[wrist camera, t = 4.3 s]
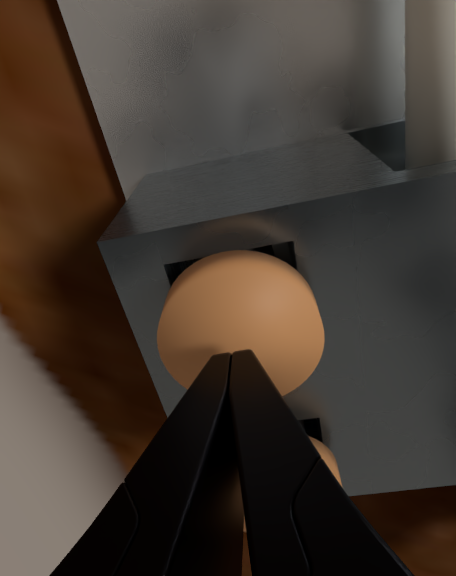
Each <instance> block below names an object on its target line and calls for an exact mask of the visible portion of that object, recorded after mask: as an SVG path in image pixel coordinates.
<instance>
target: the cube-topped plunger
mask: <svg viewBox="0 0 456 576" xmlns="http://www.w3.org/2000/svg"><path fill="white" fill-rule="evenodd" d="M452 160H456V0H405V170H406V169H411V168H416V167H421V166H426V165H432V164H437V163H442V162H447V161H452Z"/></svg>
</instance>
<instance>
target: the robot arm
mask: <svg viewBox="0 0 456 576" xmlns="http://www.w3.org/2000/svg"><path fill="white" fill-rule="evenodd" d="M124 481H125V483H122V484H121V485H120V486H119V487H118V489H117V490H116V491H115V493H114V494H113V496H112V497H111V499H110V500H109V501H108V503H107V504H106V505H105V507H104V508H103V509H102V511H101V512H100V513H99V515H98V516H97V517H96V519H95V520H94V522H93V523H92V524H91V526H90V527H89V528H88V529H87V531H86V532H85V533H84V534H83V536H82V537H81V538H80V539H79V541H78V542H77V543H76V544H75V545H74V547H73V548H72V549H71V551H70V552H69V553H68V554H67V555H66V557H65V558H64V559H63V560H62V561H61V562H60V564H59V565H58V566H57V567H56V568H55V570H54V571H53V572H52V573H51V574H50V576H241V575H242V552H243V530H244V517H245V525H246V533H247V540H248V548H249V556H250V563H251V571H252V576H414V575H413V574H412V572H411V571H410V570H409V569H408V568H407V567H406V565H405V564H404V563H403V562H402V561H401V560H400V558H399V557H398V556H397V555H396V554H395V553H394V551H393V550H392V549H391V548H390V547H389V546H388V544H387V543H386V542H385V541H384V540H383V539H382V537H381V536H380V535H379V534H378V533H377V532H376V530H375V529H374V528H373V527H372V526H371V524H370V523H369V522H368V521H367V519H366V518H365V517H364V516H363V514H362V513H361V512H360V511H359V509H358V508H357V507H356V506H355V504H354V503H353V502H352V501H351V499H350V498H349V496H348V495H347V493H346V492H345V491H344V489H343V488H342V486H341V485H340V484H339V482H338V481H337V479H336V478H335V476H334V475H333V473H332V472H331V470H330V469H329V467H328V466H327V464H326V463H325V461H324V460H323V459H322V458H321V455H320V454H319V452H318V451H317V449H316V448H315V446H314V445H313V443H312V441H311V440H310V438H309V437H308V435H307V434H306V432H305V431H304V429H303V428H302V426H301V425H300V423H299V421H298V420H297V418H296V417H295V415H294V414H293V412H292V411H291V409H290V408H289V406H288V404H287V403H286V401H285V400H284V398H283V397H282V395H281V394H280V392H279V391H278V389H277V388H276V386H275V384H274V383H273V381H272V380H271V378H270V377H269V375H268V374H267V372H266V371H265V369H264V368H263V366H262V364H261V363H260V361H259V360H258V358H257V357H256V355H255V354H254V352H253V351H252V350H251V349H245V350H239V351H234V352H233V353H232V354H231V353H230V352H226V353H220V354H214V355H212V356H211V357H210V359H209V360H208V361H207V363H206V364H205V366H204V367H203V369H202V370H201V371H200V373H199V374H198V376H197V377H196V378H195V380H194V381H193V383H192V384H191V386H190V387H189V388H188V390H187V391H186V393H185V394H184V395H183V397H182V398H181V400H180V401H179V403H178V404H177V405H176V407H175V408H174V410H173V411H172V412H171V414H170V415H169V417H168V418H167V419H166V421H165V422H164V424H163V425H162V427H161V428H160V429H159V431H158V432H157V434H156V435H155V436H154V438H153V439H152V441H151V442H150V444H149V445H148V446H147V448H146V449H145V451H144V452H143V453H142V455H141V456H140V458H139V459H138V461H137V462H136V463H135V465H134V466H133V468H132V469H131V470H130V472H129V473H128V475H127V476H126V478H125V479H124Z"/></svg>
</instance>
